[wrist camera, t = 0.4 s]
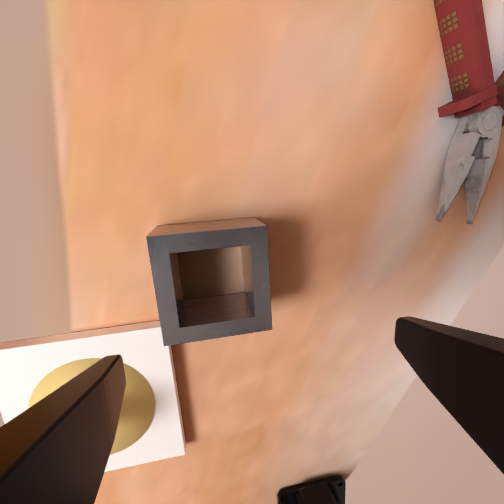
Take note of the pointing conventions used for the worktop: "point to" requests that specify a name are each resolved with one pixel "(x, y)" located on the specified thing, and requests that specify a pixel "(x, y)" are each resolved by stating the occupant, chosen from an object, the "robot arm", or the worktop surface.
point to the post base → (136, 392)
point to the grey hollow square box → (215, 307)
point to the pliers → (469, 103)
